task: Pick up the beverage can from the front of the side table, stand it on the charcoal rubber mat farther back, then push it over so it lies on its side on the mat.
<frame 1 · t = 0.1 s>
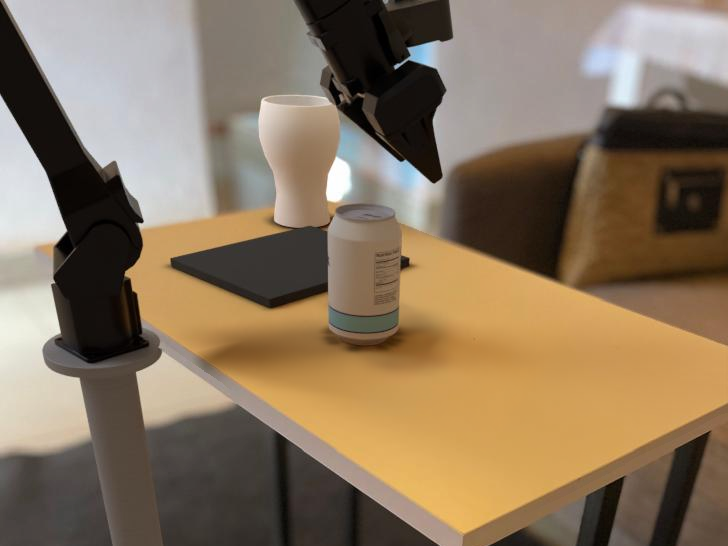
hand: (420, 169, 80), 15 cm above the table, tool tilted 35°, fingers open, 9 cm apart
beverage can: (363, 337, 84), on the table
cup: (302, 222, 117), on the table
mat: (292, 266, 100), on the table
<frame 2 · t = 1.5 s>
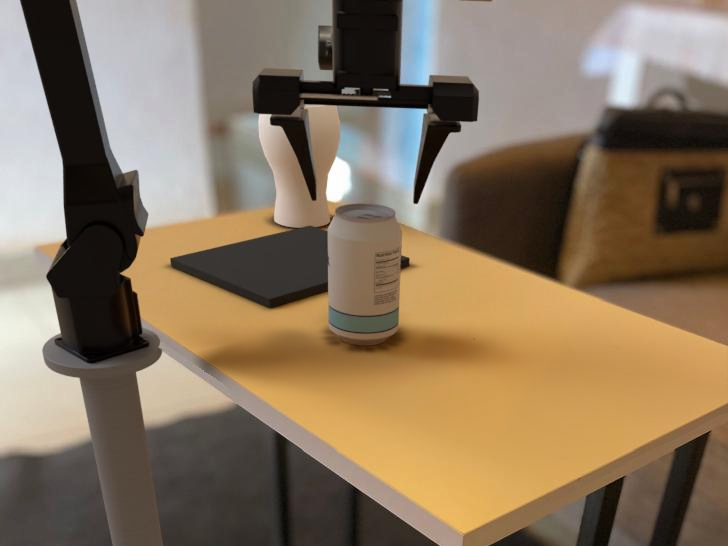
hand: (365, 201, 76), 13 cm above the table, tool pointing down, fingers open, 9 cm apart
nothing on the table moved.
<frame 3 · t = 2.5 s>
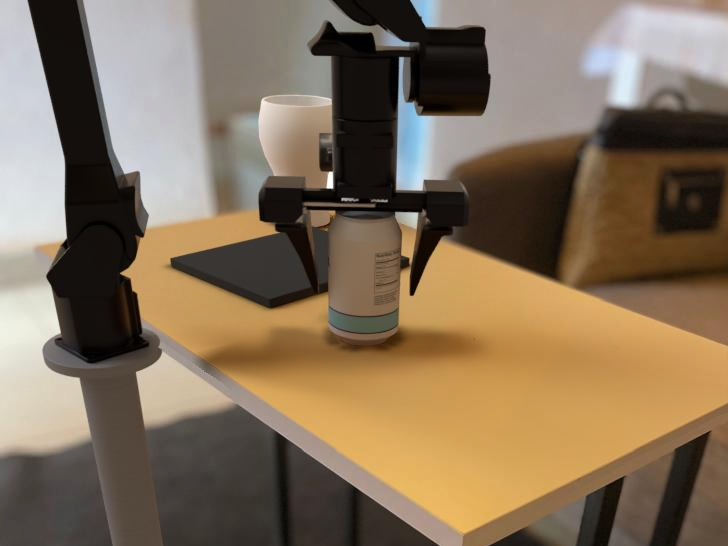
hand: (364, 293, 81), 4 cm above the table, tool pointing down
beverage can: (363, 338, 84), on the table, touching gripper
everything else where it was.
when the fingers open (6 cm above the table, at t = 8.4 s): beverage can stays where it is, resting on mat.
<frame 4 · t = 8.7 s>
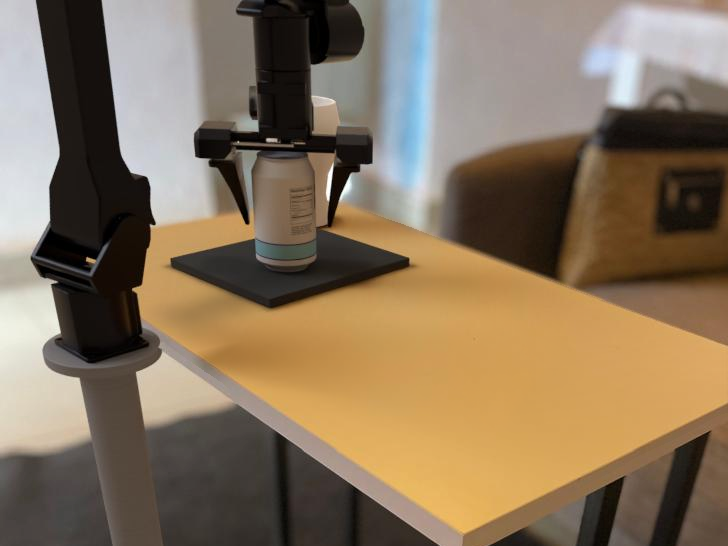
hand: (288, 225, 95), 6 cm above the table, tool pointing down, fingers open, 9 cm apart
beverage can: (286, 267, 97), point 1 cm above the table, touching mat
everything else where it was.
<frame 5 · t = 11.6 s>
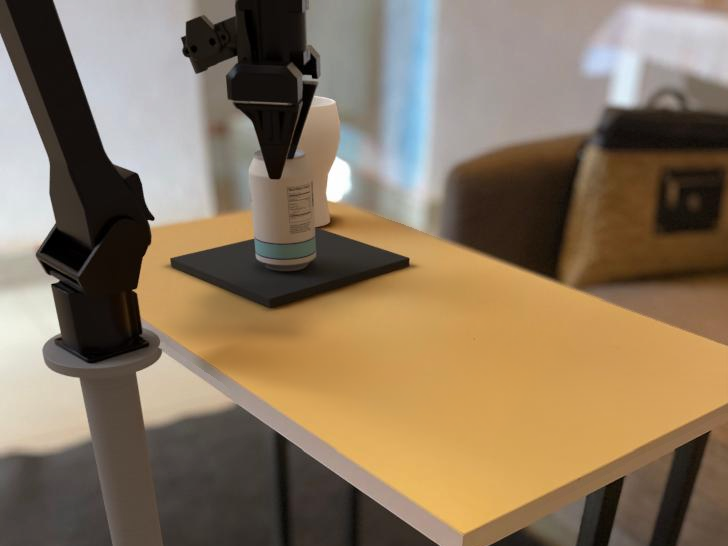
hand: (282, 168, 84), 13 cm above the table, tool pointing down, fingers open, 9 cm apart
beverage can: (286, 266, 97), point 1 cm above the table, touching gripper, mat
everything else where it was.
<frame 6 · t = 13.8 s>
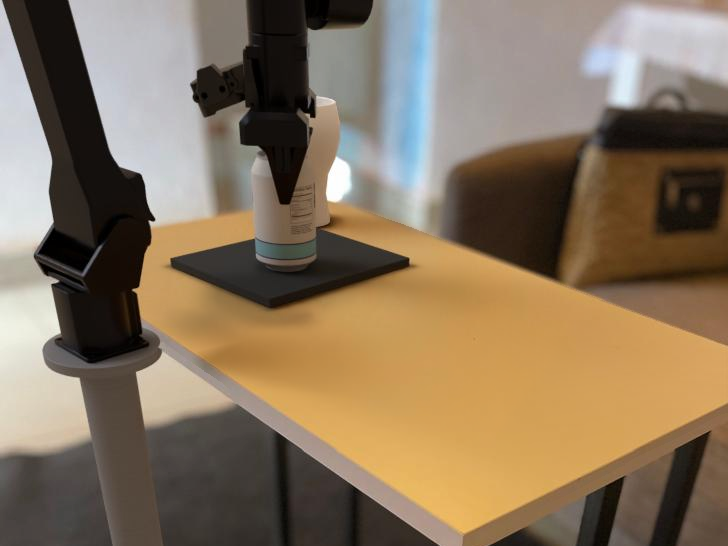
hand: (285, 204, 89), 9 cm above the table, tool pointing down, fingers closed
nothing on the table moved.
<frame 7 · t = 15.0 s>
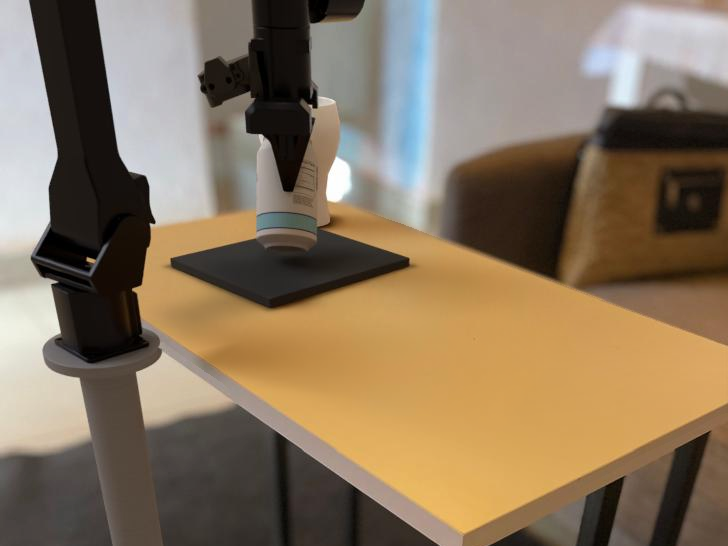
hand: (288, 191, 92), 9 cm above the table, tool pointing down, fingers closed
beverage can: (286, 252, 97), point 2 cm above the table, touching gripper, mat
everything else where it was.
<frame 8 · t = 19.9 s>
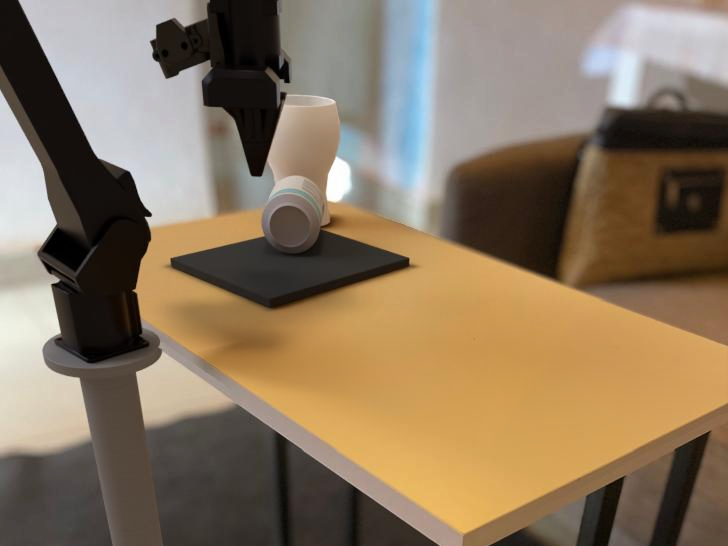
hand: (256, 175, 82), 13 cm above the table, tool pointing down, fingers closed
beverage can: (289, 227, 98), point 4 cm above the table, touching mat
everything else where it was.
at the end: beverage can tilted 90°; beverage can inside the target area on the mat (0.4 cm from its centre), point 4.5 cm above the mat's base; the gripper is holding nothing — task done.
